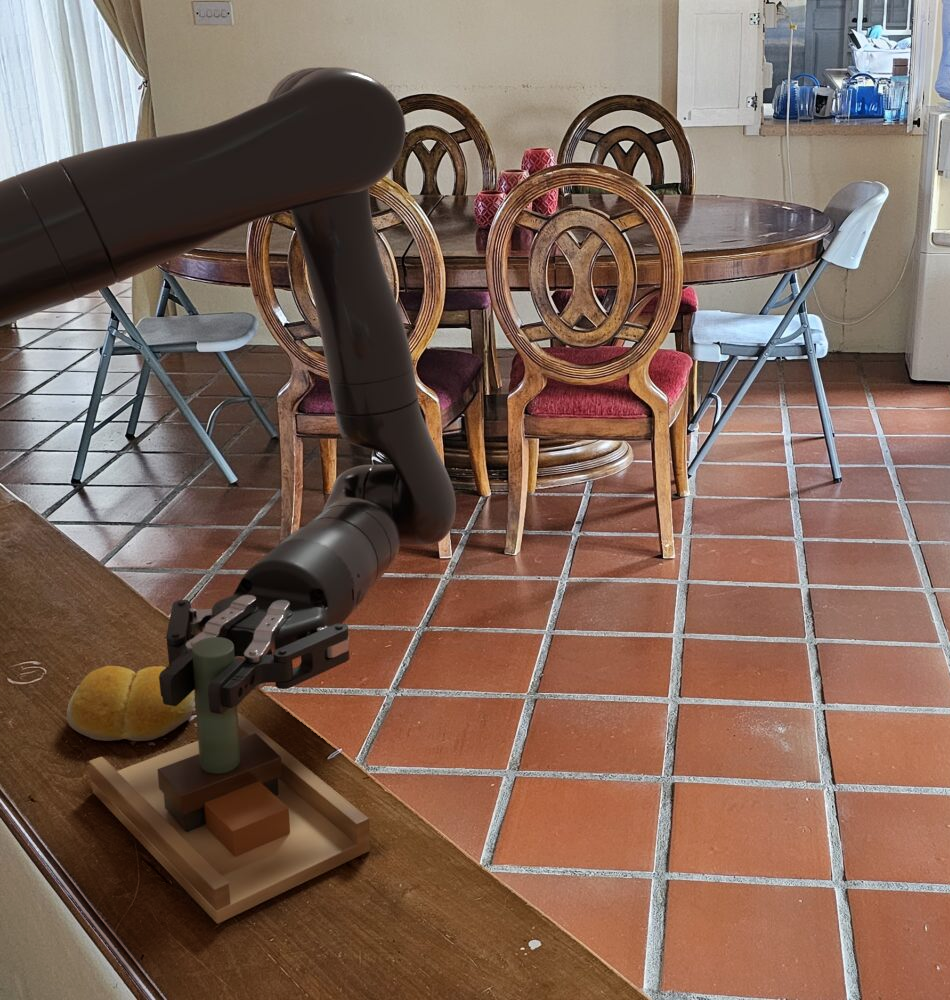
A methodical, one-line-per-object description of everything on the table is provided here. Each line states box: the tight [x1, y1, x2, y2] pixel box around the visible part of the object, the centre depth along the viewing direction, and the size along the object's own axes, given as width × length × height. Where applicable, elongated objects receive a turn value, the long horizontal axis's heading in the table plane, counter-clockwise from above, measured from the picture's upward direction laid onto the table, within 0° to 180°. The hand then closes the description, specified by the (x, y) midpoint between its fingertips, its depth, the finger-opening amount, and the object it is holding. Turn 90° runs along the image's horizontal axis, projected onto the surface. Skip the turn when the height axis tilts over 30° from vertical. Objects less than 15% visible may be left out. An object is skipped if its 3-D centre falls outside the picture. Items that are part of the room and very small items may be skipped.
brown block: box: [204, 781, 290, 857], centre depth 85 cm, size 4×4×2 cm
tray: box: [88, 711, 371, 924], centre depth 88 cm, size 18×11×3 cm, turn 43°
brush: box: [158, 637, 282, 832], centre depth 86 cm, size 4×7×12 cm, turn 132°
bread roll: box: [66, 665, 196, 742], centre depth 99 cm, size 8×9×4 cm
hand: (191, 696), depth 81 cm, fingers closed on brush, 2 cm apart
